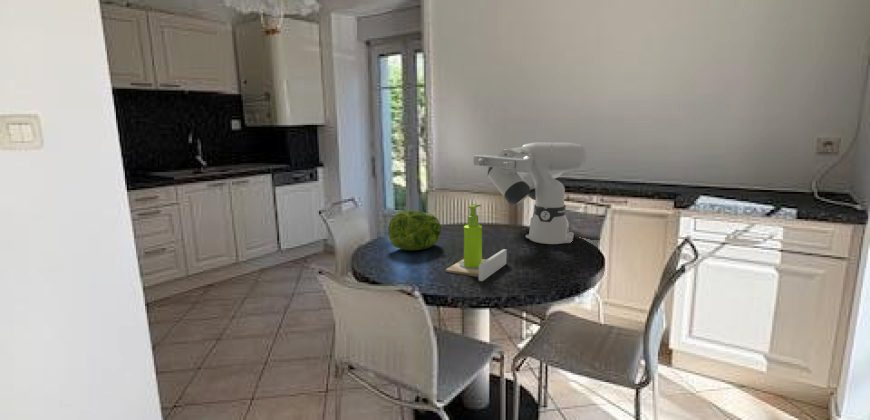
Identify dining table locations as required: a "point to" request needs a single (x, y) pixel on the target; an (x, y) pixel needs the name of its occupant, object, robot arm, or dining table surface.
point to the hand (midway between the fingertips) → (491, 163)
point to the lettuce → (414, 230)
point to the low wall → (492, 264)
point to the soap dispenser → (472, 240)
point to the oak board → (463, 269)
